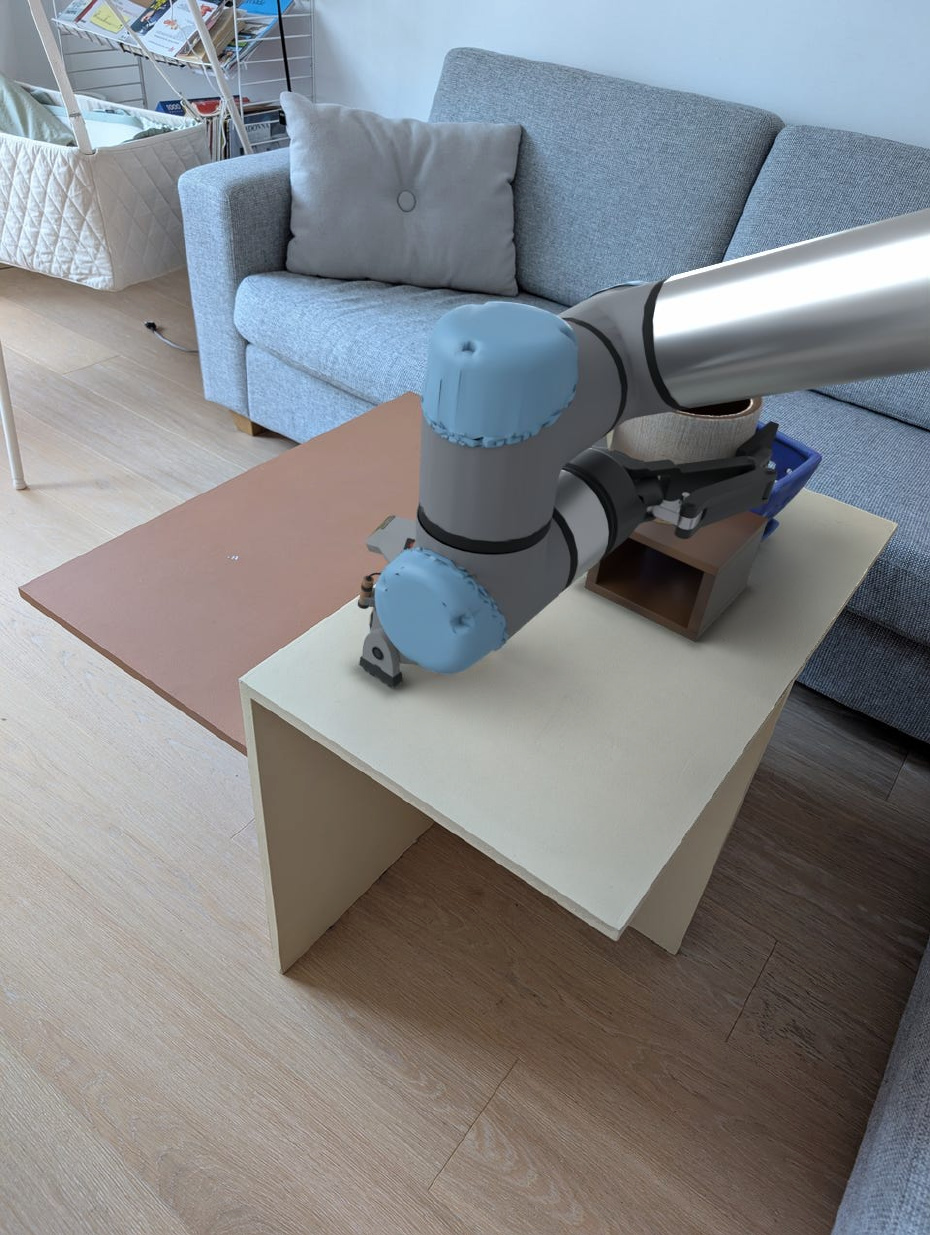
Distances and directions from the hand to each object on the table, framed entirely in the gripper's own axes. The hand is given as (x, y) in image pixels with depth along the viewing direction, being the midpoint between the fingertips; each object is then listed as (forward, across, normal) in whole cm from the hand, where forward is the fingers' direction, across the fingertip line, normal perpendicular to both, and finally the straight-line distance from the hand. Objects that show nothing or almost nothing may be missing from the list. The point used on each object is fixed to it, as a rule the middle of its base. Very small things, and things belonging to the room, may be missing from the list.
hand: (704, 414), depth 73 cm
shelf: (+9, -2, -24) cm, 25 cm away
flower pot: (+22, -3, -24) cm, 32 cm away
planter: (-4, 0, -6) cm, 7 cm away
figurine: (-18, -13, -24) cm, 33 cm away
